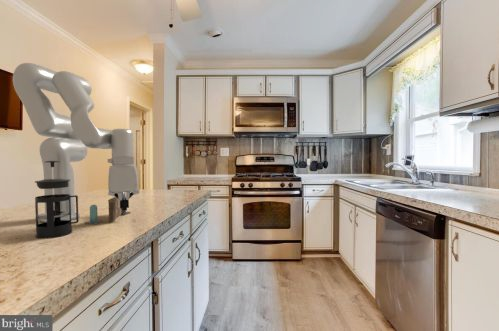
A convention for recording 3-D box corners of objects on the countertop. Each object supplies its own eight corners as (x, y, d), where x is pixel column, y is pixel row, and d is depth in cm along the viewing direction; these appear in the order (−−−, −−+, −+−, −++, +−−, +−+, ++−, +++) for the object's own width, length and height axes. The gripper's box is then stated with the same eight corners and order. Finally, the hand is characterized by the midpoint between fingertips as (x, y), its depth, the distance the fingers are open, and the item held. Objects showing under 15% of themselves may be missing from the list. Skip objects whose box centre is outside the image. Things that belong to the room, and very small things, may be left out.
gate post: (119, 212, 116) (118, 183, 116) (130, 212, 116) (129, 183, 115) (112, 215, 111) (112, 184, 111) (124, 215, 111) (123, 184, 110)
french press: (28, 240, 78) (25, 161, 77) (37, 232, 86) (35, 160, 86) (75, 235, 83) (73, 160, 82) (80, 228, 91) (78, 160, 91)
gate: (118, 213, 112) (118, 194, 111) (122, 213, 112) (122, 194, 112) (108, 221, 98) (108, 200, 97) (113, 221, 98) (113, 199, 98)
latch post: (92, 221, 101) (91, 203, 100) (102, 221, 100) (102, 203, 100) (85, 224, 97) (84, 205, 96) (95, 224, 96) (95, 205, 96)
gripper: (99, 162, 95) (101, 213, 96) (144, 161, 101) (145, 210, 102) (102, 162, 102) (103, 210, 103) (144, 161, 108) (145, 206, 109)
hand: (124, 210), depth 102 cm, fingers closed
